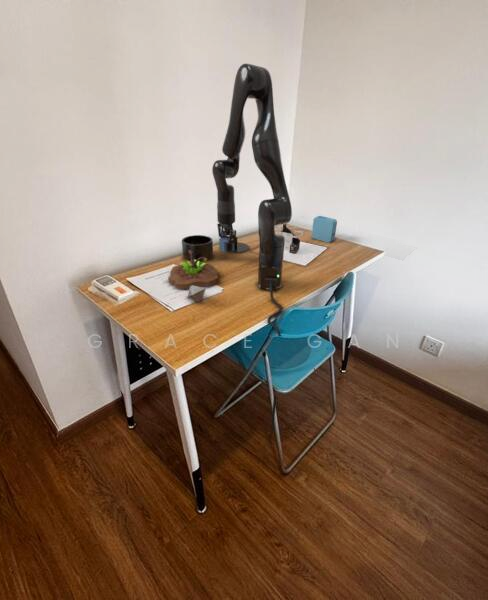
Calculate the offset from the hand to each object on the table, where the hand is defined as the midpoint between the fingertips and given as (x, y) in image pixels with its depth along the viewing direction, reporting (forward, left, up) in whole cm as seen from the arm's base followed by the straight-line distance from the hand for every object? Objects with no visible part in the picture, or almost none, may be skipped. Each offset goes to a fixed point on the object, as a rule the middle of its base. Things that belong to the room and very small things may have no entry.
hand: (226, 249), depth 143 cm
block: (0, 0, 0) cm, 0 cm away
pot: (+1, +14, -6) cm, 15 cm away
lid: (+16, 0, -5) cm, 17 cm away
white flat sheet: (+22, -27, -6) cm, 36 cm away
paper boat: (-37, +1, -6) cm, 37 cm away
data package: (+42, -44, -6) cm, 61 cm away
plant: (-20, +9, -6) cm, 22 cm away
